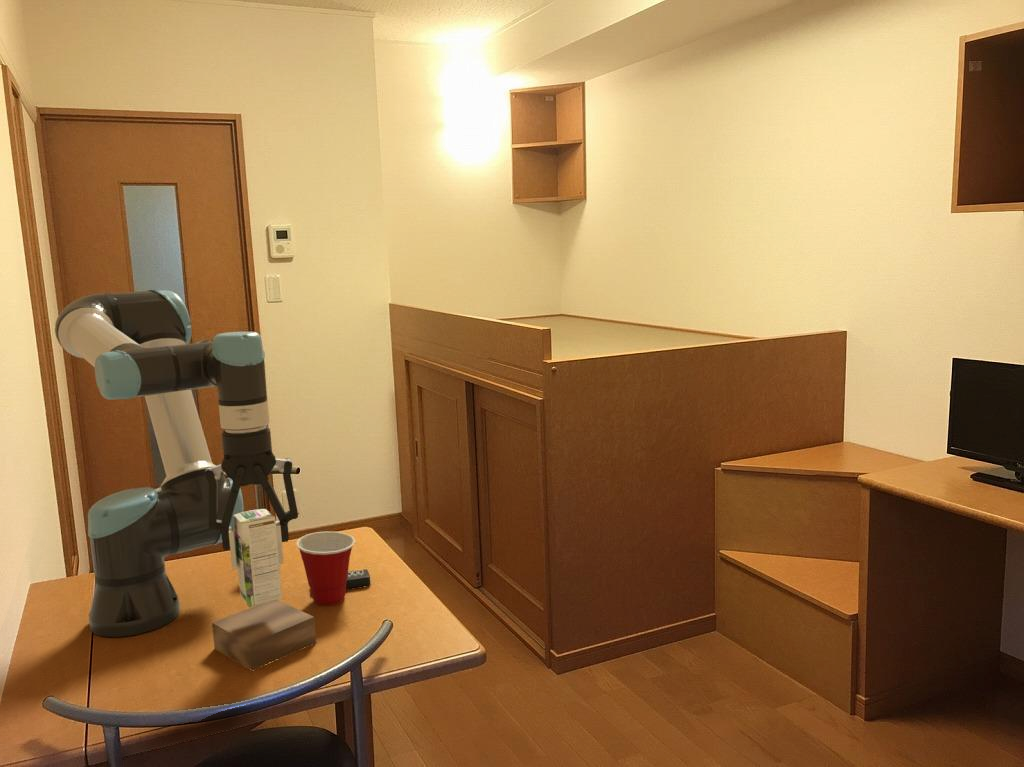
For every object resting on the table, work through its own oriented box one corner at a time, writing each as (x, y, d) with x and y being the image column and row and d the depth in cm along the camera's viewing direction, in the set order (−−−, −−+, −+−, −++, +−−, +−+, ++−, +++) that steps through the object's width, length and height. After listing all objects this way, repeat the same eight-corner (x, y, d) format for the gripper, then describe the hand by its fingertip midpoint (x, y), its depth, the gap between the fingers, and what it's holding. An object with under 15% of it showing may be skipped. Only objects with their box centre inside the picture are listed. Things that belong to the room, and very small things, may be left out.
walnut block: (214, 650, 139) (211, 622, 138) (277, 625, 148) (274, 598, 147) (252, 673, 131) (249, 643, 130) (316, 644, 140) (314, 616, 139)
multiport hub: (371, 587, 162) (370, 576, 162) (314, 596, 159) (313, 585, 159) (367, 579, 167) (367, 568, 166) (312, 587, 163) (311, 576, 163)
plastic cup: (345, 613, 150) (341, 551, 148) (290, 610, 152) (285, 548, 150) (367, 589, 161) (363, 530, 159) (316, 586, 163) (311, 528, 161)
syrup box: (239, 596, 139) (230, 514, 136) (274, 587, 142) (265, 506, 139) (248, 608, 134) (239, 523, 131) (284, 598, 137) (276, 515, 134)
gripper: (178, 439, 127) (193, 581, 130) (309, 426, 132) (320, 563, 136) (182, 429, 134) (196, 564, 137) (306, 418, 139) (317, 548, 143)
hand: (258, 563), depth 137 cm, fingers closed on syrup box, 7 cm apart
